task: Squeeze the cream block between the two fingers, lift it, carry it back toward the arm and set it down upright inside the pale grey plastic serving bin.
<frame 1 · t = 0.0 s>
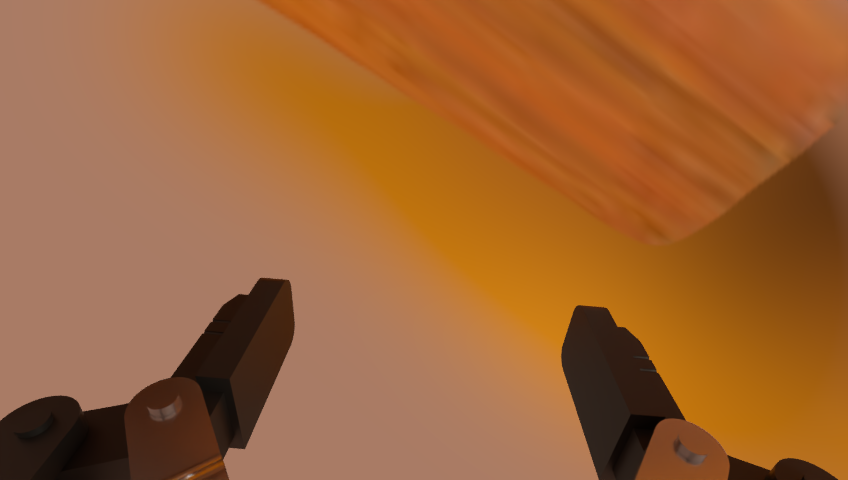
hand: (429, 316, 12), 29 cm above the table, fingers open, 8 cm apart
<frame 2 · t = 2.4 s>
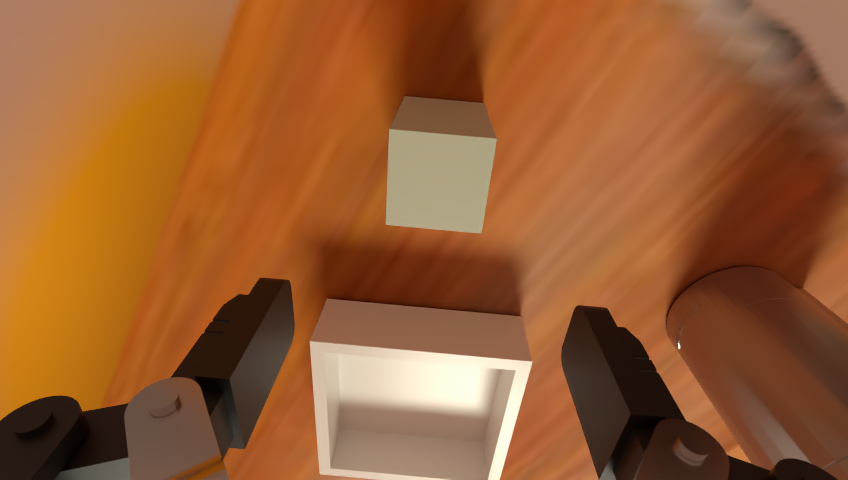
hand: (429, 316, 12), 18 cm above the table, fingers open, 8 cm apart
cream block: (440, 138, 28), on the table
serving bin: (417, 376, 38), on the table
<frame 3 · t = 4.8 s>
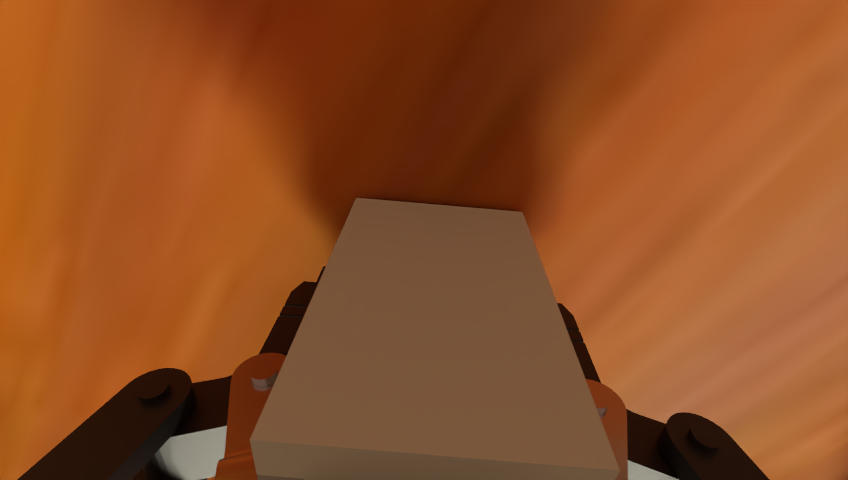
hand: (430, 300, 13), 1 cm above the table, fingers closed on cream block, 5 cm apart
cream block: (432, 273, 14), on the table, touching gripper
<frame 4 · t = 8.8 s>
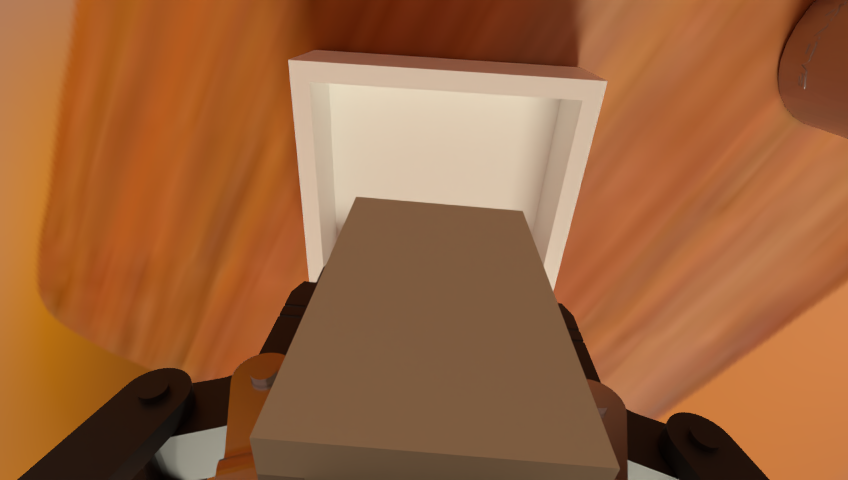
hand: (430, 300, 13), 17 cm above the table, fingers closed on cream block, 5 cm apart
cream block: (432, 272, 14), point 16 cm above the table, touching gripper
serving bin: (437, 182, 29), on the table
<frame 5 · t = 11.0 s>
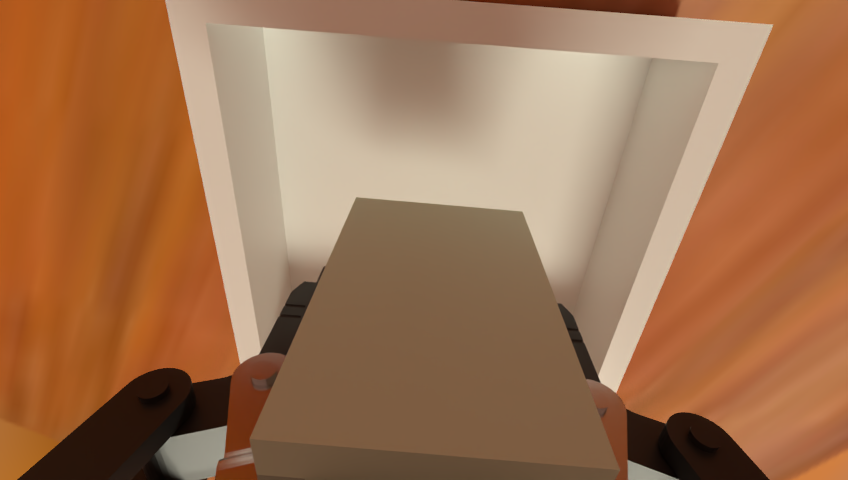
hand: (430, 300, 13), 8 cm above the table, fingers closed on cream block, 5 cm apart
cream block: (432, 273, 14), point 6 cm above the table, touching gripper
serving bin: (440, 201, 19), on the table
when the fingers open (5 cm above the table, at t = 12.8 s): cream block drops 2 cm, resting on serving bin.
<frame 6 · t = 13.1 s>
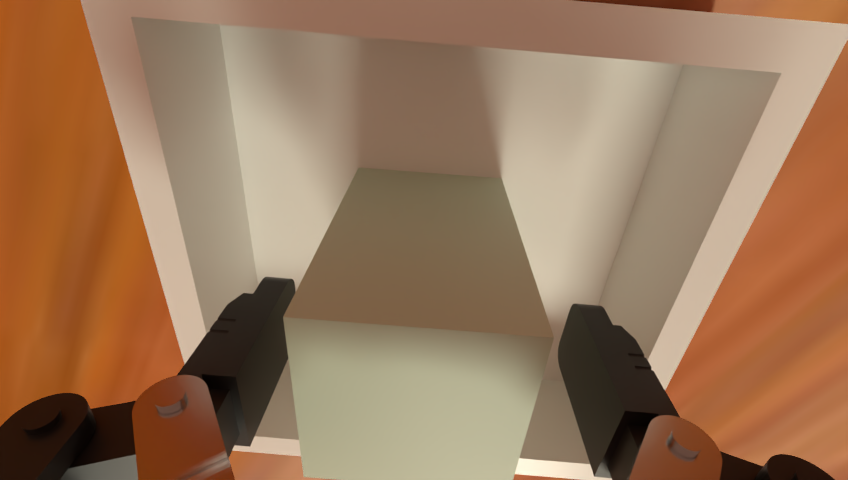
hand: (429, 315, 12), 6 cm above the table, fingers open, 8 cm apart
cream block: (425, 235, 16), point 1 cm above the table, touching serving bin
serving bin: (433, 225, 17), on the table
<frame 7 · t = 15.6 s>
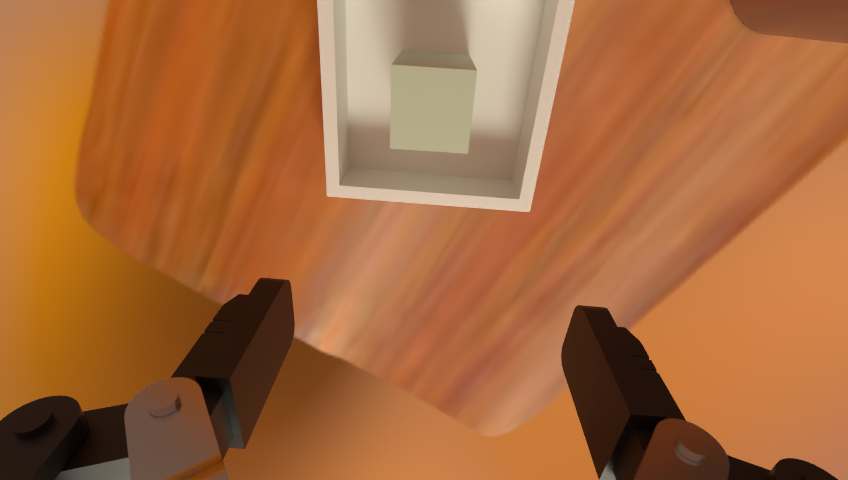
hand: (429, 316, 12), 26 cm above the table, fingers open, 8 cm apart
cream block: (433, 87, 33), point 1 cm above the table, touching serving bin
serving bin: (437, 86, 34), on the table
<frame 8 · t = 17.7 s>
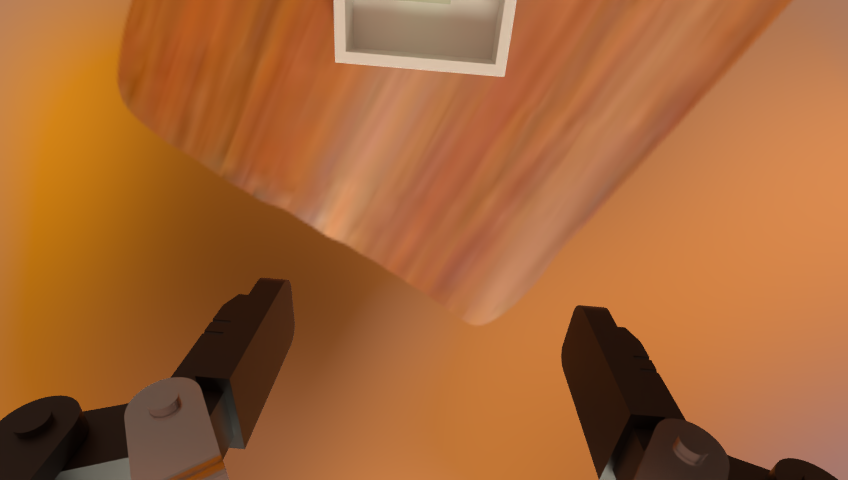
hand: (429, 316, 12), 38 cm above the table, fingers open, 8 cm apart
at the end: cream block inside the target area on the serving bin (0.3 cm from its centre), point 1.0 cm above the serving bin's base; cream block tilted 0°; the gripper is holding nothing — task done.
